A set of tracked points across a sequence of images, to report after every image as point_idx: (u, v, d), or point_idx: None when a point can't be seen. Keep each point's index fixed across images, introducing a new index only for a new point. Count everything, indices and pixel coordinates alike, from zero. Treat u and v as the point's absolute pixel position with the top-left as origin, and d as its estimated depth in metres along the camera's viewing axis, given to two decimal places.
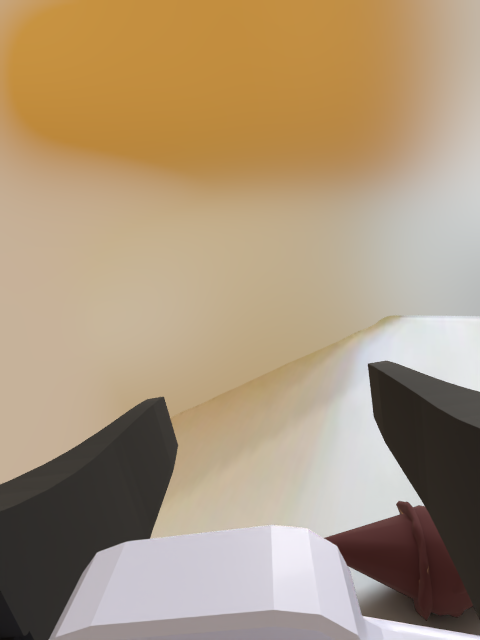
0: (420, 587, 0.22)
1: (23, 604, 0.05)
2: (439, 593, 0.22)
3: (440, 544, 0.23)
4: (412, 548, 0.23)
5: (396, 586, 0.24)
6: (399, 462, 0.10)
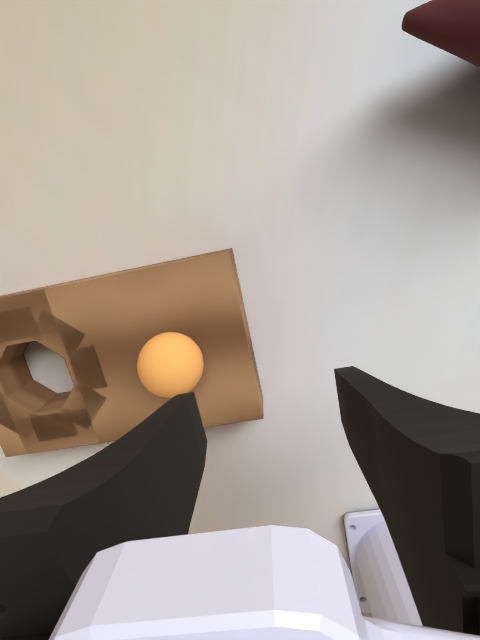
0: None
1: None
2: None
3: None
4: None
5: None
6: (360, 467, 0.10)
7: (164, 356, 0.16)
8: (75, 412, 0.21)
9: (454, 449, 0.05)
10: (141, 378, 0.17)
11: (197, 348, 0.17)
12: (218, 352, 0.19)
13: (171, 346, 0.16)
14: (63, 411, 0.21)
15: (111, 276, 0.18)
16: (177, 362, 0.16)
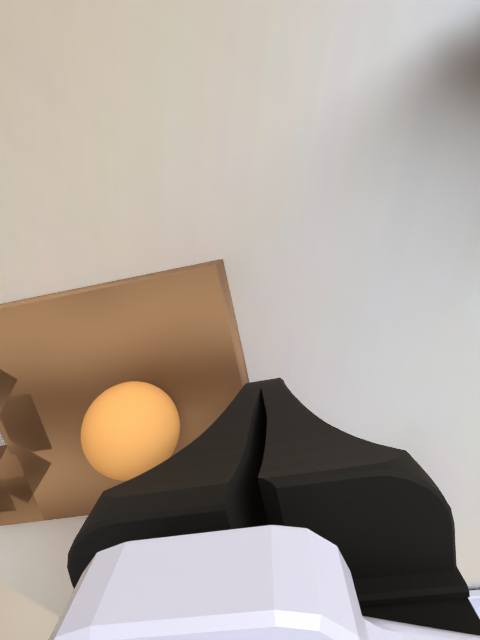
0: None
1: None
2: None
3: None
4: None
5: None
6: None
7: (116, 426, 0.11)
8: (10, 481, 0.15)
9: (277, 472, 0.05)
10: (85, 455, 0.11)
11: (170, 407, 0.12)
12: (203, 405, 0.14)
13: (128, 409, 0.11)
14: None
15: (50, 300, 0.13)
16: (136, 434, 0.11)
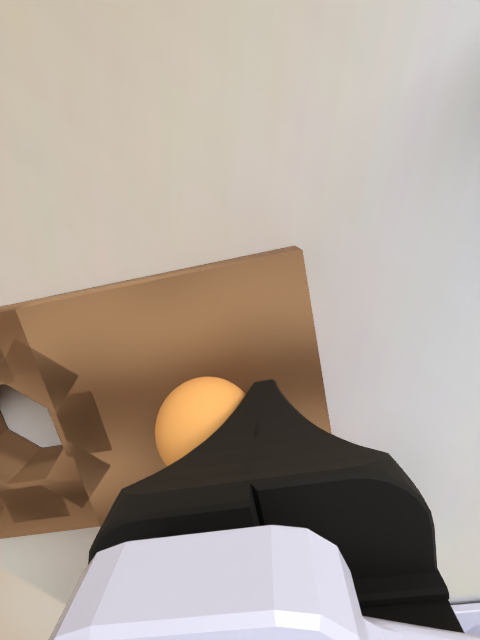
0: None
1: None
2: None
3: None
4: None
5: None
6: None
7: (197, 425, 0.10)
8: (65, 484, 0.14)
9: (259, 474, 0.05)
10: (160, 453, 0.11)
11: None
12: None
13: (208, 407, 0.10)
14: (47, 483, 0.14)
15: (118, 289, 0.12)
16: None
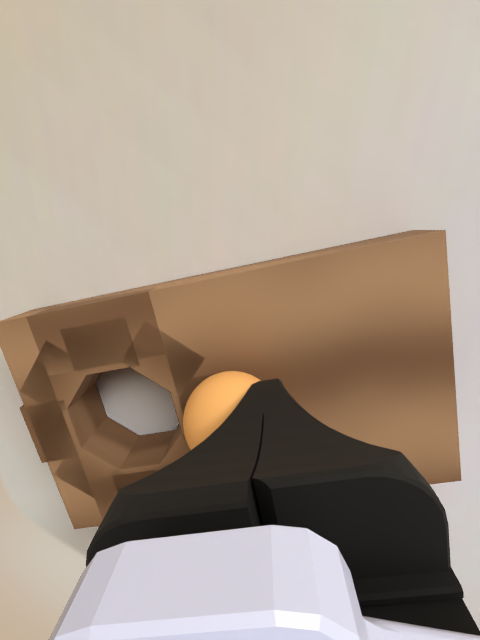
0: None
1: None
2: None
3: None
4: None
5: None
6: None
7: None
8: None
9: (272, 473, 0.05)
10: None
11: (188, 422, 0.11)
12: (406, 384, 0.13)
13: (200, 383, 0.12)
14: (161, 468, 0.15)
15: (254, 271, 0.12)
16: None
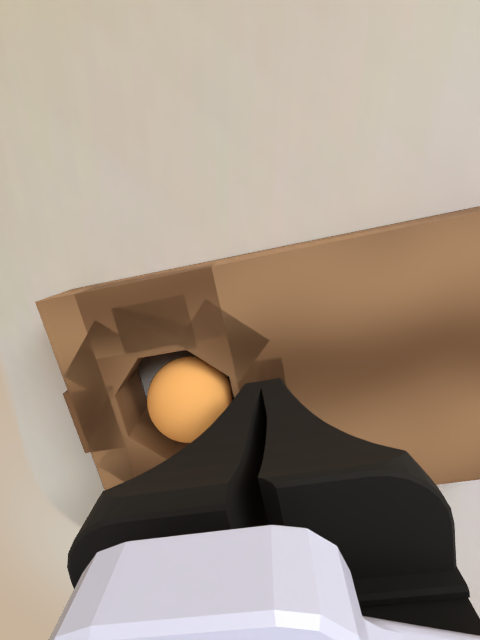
0: None
1: None
2: None
3: None
4: None
5: None
6: None
7: None
8: None
9: (277, 472, 0.05)
10: (227, 406, 0.13)
11: None
12: None
13: None
14: None
15: (329, 244, 0.11)
16: None
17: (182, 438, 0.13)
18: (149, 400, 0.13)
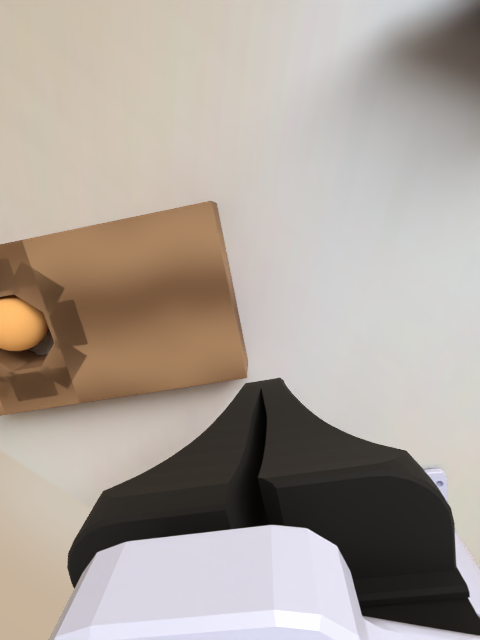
0: None
1: None
2: None
3: None
4: None
5: None
6: None
7: None
8: (55, 370, 0.20)
9: (277, 472, 0.05)
10: (22, 324, 0.19)
11: None
12: (200, 307, 0.19)
13: None
14: (42, 370, 0.21)
15: (91, 226, 0.18)
16: None
17: None
18: None
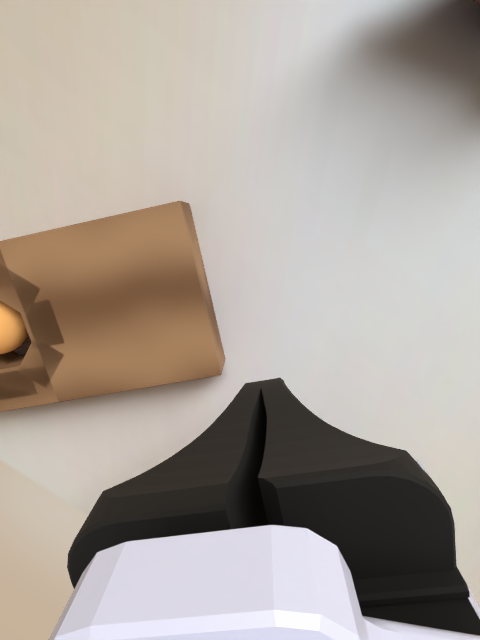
0: None
1: None
2: None
3: None
4: None
5: None
6: None
7: None
8: (33, 370, 0.21)
9: (277, 472, 0.05)
10: (2, 330, 0.20)
11: None
12: (173, 306, 0.19)
13: None
14: (21, 369, 0.21)
15: (64, 227, 0.18)
16: None
17: None
18: None
